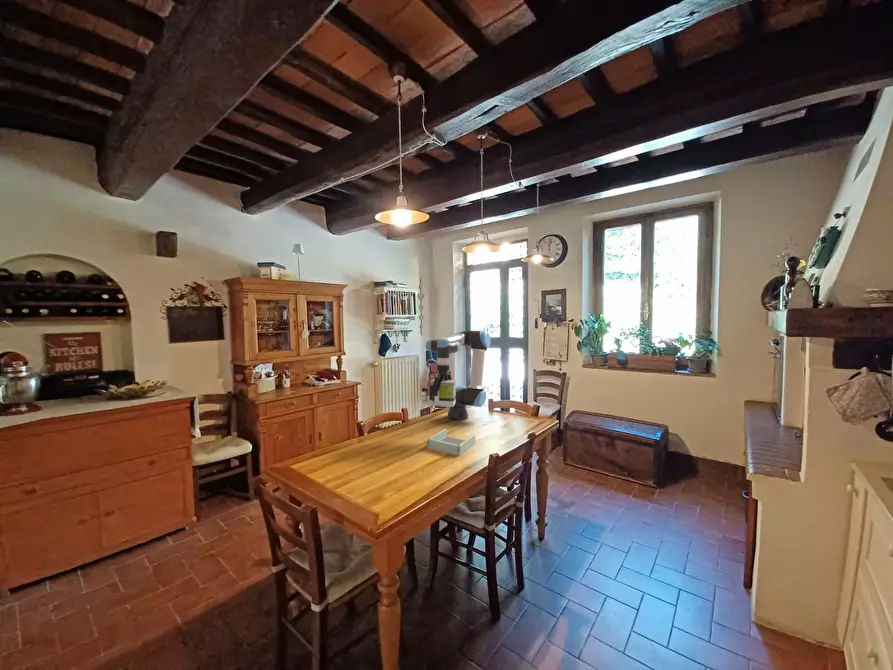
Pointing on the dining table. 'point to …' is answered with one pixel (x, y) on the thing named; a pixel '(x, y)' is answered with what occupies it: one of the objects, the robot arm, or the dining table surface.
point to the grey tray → (450, 443)
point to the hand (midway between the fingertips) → (442, 399)
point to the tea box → (443, 393)
